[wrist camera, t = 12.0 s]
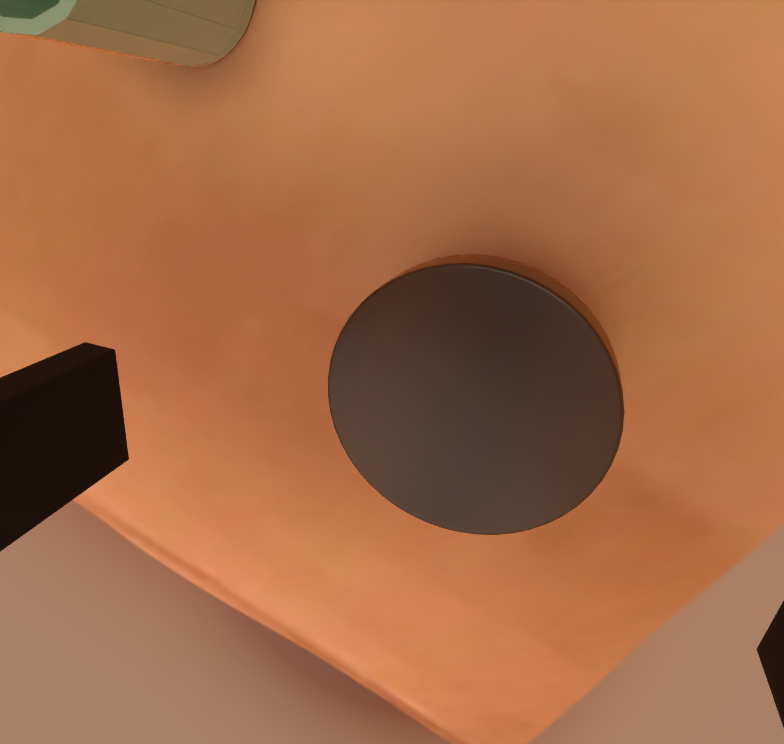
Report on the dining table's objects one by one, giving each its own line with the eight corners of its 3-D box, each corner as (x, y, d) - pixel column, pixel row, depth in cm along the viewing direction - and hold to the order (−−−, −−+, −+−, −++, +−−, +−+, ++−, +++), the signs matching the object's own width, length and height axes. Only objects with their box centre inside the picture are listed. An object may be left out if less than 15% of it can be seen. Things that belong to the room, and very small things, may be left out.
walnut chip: (336, 471, 17) (320, 492, 16) (353, 231, 14) (335, 239, 13) (580, 541, 15) (579, 570, 14) (661, 283, 12) (669, 296, 11)
